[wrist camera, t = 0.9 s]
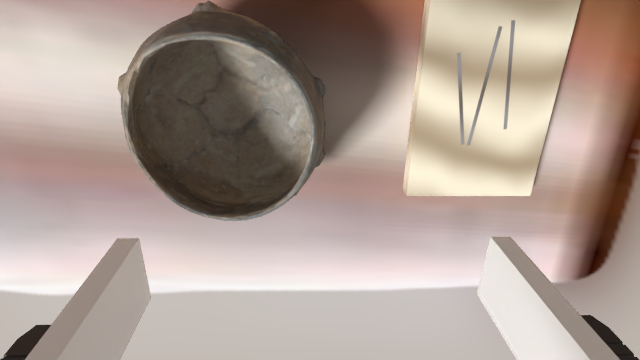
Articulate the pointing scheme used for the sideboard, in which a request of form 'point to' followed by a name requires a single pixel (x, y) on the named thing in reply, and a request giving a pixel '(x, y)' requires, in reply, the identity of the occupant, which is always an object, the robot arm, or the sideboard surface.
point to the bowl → (222, 115)
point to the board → (485, 94)
